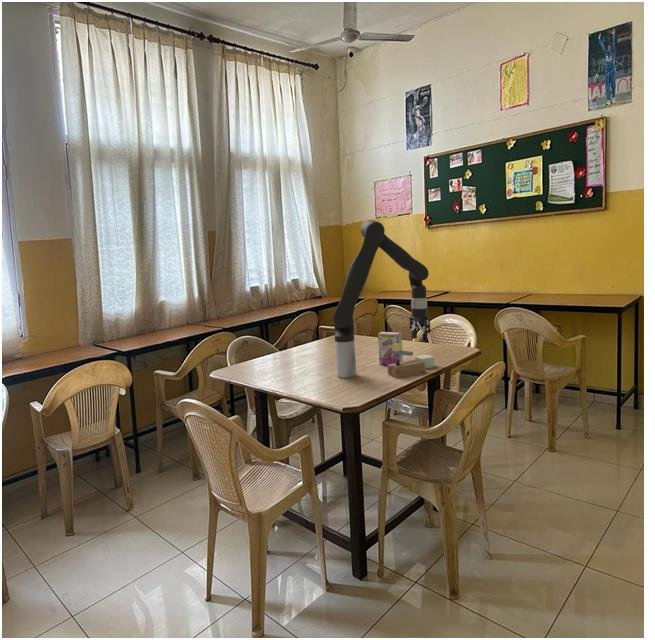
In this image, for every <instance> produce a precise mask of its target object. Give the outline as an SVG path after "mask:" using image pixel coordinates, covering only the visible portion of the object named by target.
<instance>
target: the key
mask: <svg viewBox="0 0 655 640" xmlns="http://www.w3.org/2000/svg"><path fill="white" fill-rule="evenodd" d="M390 353H391V354H395V358H396V365H400V360H399V355H402V356H409V357H410V356H413V355H414V351H410V350H409V351H408V350H403V347H402V348H401V344H398V343H394V344H392V350H391V351H390Z"/></svg>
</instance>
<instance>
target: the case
mask: <svg viewBox="0 0 655 640" xmlns="http://www.w3.org/2000/svg"><path fill="white" fill-rule="evenodd" d="M422 373H426V368H425V362H423V361H420V360H417V359H415V358H414V359H410V360H405V361H404V360H403V362H400V365H396V363H393V364H388V365H387V376H389V377H392V378H394V379H398V378H402V377H407V376H413V375H418V374H422Z"/></svg>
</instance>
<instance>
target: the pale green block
mask: <svg viewBox="0 0 655 640" xmlns="http://www.w3.org/2000/svg"><path fill="white" fill-rule="evenodd" d="M414 359H417V360H420V361H423V362H425V369H429V368H435V365H436V363H435V356H433V355H429V354H424V355H419V356H418V355H417V356H415V357H414Z"/></svg>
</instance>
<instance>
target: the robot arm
mask: <svg viewBox="0 0 655 640" xmlns="http://www.w3.org/2000/svg"><path fill="white" fill-rule="evenodd" d="M360 233H361V235H362V237H363V241H362V245H361V248H360V250H359V252H358V253H357V255H356V256H355V257H354V259H353V261H352V263H351V264H350V266H349V269H348V271H347V275H346V277H345V282H344V284H343V285H344V286H343V289H342V295H341V298H340V300H339V302H338V304H337V306H336V309H335V310H334V312H333V314H332V321H333V324H334V344H335V359H336V361H335V362H336V370H337V371H336V374H337V377H338V378H342V379H347V378H349V379H350V378H354V377H356V376H357V373H358V372H357V362H356V361H357V360H356V359H357V358H356V346H355V328H354V327H355V325H354V311H355V308H356V305H357V301H358V299H359V298H360V296H361V293H362V292H363V290H364V287H365V284H366V282H367V280H368V278H369V273H370V270H371V268H372V265H373V262H374V259H375V256H376V253H377V252H378V249H379V248H380V249H381V250H382V251H383V252H384V253H385V254H386V255H388V257H389V258H391V260H393V261H394V263H396V264H397V265H398V266H399V267H400V268H402V269H403V270H405V271H408V281H409V285H410V287H411V301H410V306H411V317H409V323H408V324H409V330H411V332H412V333H411V334H412V335H411V336H412V339H418V329H419V330H420V331H421V332H422V342H428V334H429V333H431V320H429V319H426V317H428V300H427V299H428V298H427V287H426V286H425V285H424V284H423V281H426V280H427V279H428V278H429V270H428V268H427V267H426V266H425V265H424V264H423V263H422V262H421V261H419V260H417V259H416V258H414V257H413V256H412V255H411V254H410V253H408V252H407V250H405V249H404V248H402V247H401V246H400V245H399V244H397V243H396V242H395V241H394V240H392V239H391V238H390V237H388V236H387V234H385V227H384V225H383V224H382V223H381V222H379V221H375V220H366V221H364V222H363V223H362V225H361V227H360Z"/></svg>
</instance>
